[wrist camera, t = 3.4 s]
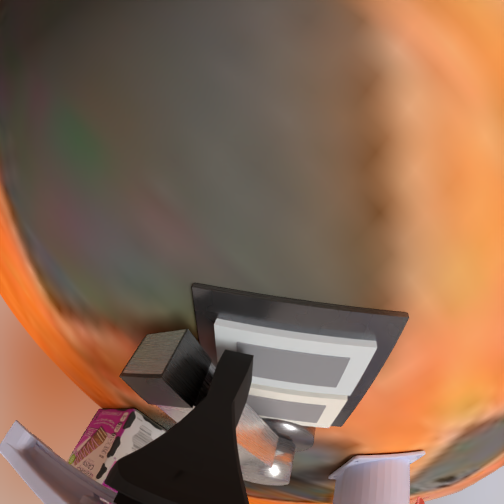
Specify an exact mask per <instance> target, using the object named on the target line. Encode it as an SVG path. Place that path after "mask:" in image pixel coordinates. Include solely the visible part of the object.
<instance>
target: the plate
mask: <svg viewBox="0 0 504 504" xmlns="http://www.w3.org/2000/svg"><path fill="white" fill-rule="evenodd" d="M192 291H193V299H194V306H195V314H196V321H197V328H198V335H199V341H200V345H201V347H202V348H203V349H204V350H205V352H206V353H207V354H208V356H209V357H210V358H211V359H212V363H213V364H214V365H215V367H216V366H217V364H218V362H217V352H216V342H215V331H214V323H215V321H216V319H217V318H218V319H223V320H228V321H233V322H239V323H244V324H250V325H255V326H261V327H267V328H274V329H280V330H286V331H293V332H300V333H308V334H315V335H323V336H331V337H340V338H350V339H360V340H371V341H376V343H377V349H376V351H375V353H374V355H373V357H372V359H371V361H370V362H369V364H368V366H367V368H366V370H365V372H364V373H363V375H362V377H361V379H360V380H359V382H358V384H357V385H356V387H355V389H354V390H353V392H352V394H351V395H350V396H348V397H347V402H346V403H345V405H344V406H343V408H342V409H341V411H340V412H339V414H338V415H337V417H336V418H335V420H334V421H333V423H332V424H331V426H340V427H341V426H342V425H343V424H344V423H345V421H346V420H347V419H348V417H349V416H350V415H351V413H352V412H353V410H354V409H355V408H356V406H357V405H358V403H359V402H360V401H361V399H362V398H363V396H364V395H365V393H366V392H367V390H368V389H369V387H370V386H371V384H372V383H373V381H374V380H375V378H376V376H377V375H378V373H379V372H380V370H381V368H382V367H383V365H384V363H385V362H386V360H387V358H388V356H389V355H390V353H391V351H392V349H393V348H394V346H395V344H396V342H397V340H398V338H399V336H400V335H401V333H402V331H403V329H404V327H405V325H406V323H407V321H408V319H409V315H408V313H406V312H396V311H386V310H376V309H367V308H358V307H350V306H341V305H333V304H326V303H318V302H311V301H304V300H296V299H289V298H283V297H276V296H269V295H263V294H257V293H250V292H244V291H238V290H232V289H227V288H221V287H215V286H209V285H204V284H198V283H194V285H193V286H192Z"/></svg>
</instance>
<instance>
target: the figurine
mask: <svg viewBox="0 0 504 504" xmlns="http://www.w3.org/2000/svg"><path fill="white" fill-rule="evenodd" d="M419 498H420V497H418V499H417V500H416V501H417V502H416V503H415V504H424V501H423V499H424V498H423V499H422V498H420V499H419ZM426 498H428V497H426ZM412 502H414V501H412ZM409 503H410V502H409Z"/></svg>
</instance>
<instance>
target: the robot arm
mask: <svg viewBox="0 0 504 504" xmlns="http://www.w3.org/2000/svg"><path fill="white" fill-rule="evenodd" d="M253 357H254V355H250V354H245V353H240V352H235V351H230V350H226V349H225V350H224V352H223V354H222V356H221V358H220V360H219V362H218V364H217V366H216V369H215V372H214V375H213V378H212V381H211V384H210V387H209V390H208V393H207V395H206V396H205V397H204V398H203V399H202V400H201V401H200V403H199V404H198V405H197V406H196V407H195V408H194V409H193V410H192V411H191V412H189V413H188V414H187V415H186V416H185V417H184V418H183V419H182V420H180V421H179V422H178V423H177V424H176V425H174V426H173V427H172V428H170V429H169V430H168V431H166V432H165V433H164V434H162V435H161V436H159V437H158V438H156V439H155V440H153V441H152V442H150V443H148V444H147V445H145V446H144V447H142V448H140V449H138V450H136V451H134V452H132V453H130V454H128V455H126V456H124V457H122V458H120V459H119V460H117V462H116V463H115V464H114V465H113V467H112V468H111V469H110V471H109V473H108V475H107V477H106V479H105V481H104V482H105V484H106V485H108V486H109V487H111V488H113V489H115V490H116V491H118V493H116V492H114V491H112V490H110V489H109V488H107V487H105V486H103V485H102V484H100V483H98V482H97V481H95V480H93V479H92V478H90V477H89V476H87V475H85V474H84V473H82V472H81V471H79V470H78V469H76V468H75V467H74V466H72V465H71V464H69V463H68V462H66V461H65V460H64V459H62V458H61V457H60V456H58V455H57V454H56V453H54V452H53V450H52V449H51V448H50V447H48V446H47V445H46V444H44V443H43V442H42V441H41V440H40V439H39V438H37V437H36V436H35V435H33V434H32V433H31V432H29V431H28V430H27V429H26V428H25V427H24V426H23V425H22V424H20V423H19V422H18V421H17V420H16V421H15V422H14V424H13V425H12V427H11V428H10V430H9V431H8V433H7V434H6V436H5V438H4V439H3V441H2V442H1V444H0V453H1V454H2V455H3V456H4V457H5V459H6V460H7V461H8V462H9V463H10V464H11V466H12V467H13V468H14V469H15V470H16V471H17V473H18V474H19V475H20V476H21V478H22V479H23V480H24V481H25V482H26V484H27V485H28V486H29V487H30V488H31V489H32V490H33V492H35V494H36V495H37V496H38V497H39V498H40V499H41V500H42V502H43V503H44V504H109V503H106V502H104V501H102V500H100V497H101V498H103V499H105V500H106V501H108V502H110V503H112V504H249V501H248V497H247V493H246V489H245V485H244V481H243V476H242V471H241V465H240V459H239V453H238V446H237V437H236V427H237V425H238V422H239V420H240V417H241V415H242V412H243V410H244V407H245V404H246V402H247V398H248V394H249V390H250V386H251V382H252V371H253ZM424 455H425V451H417V452H409V453H399V454H385V455H358V456H354V457H353V458H351V459H350V460H349V461H348V462H346V463H345V464H344V465H343V466H341V467H340V468H339V469H337V470H336V471H335V472H333V473H332V474H331V475H329V477H328V478H329V479H336V484H335V492H334V499H333V504H409V499H410V464H411V463H413V462H414V461H416V460H417V459H419V458H421V457H422V456H424Z"/></svg>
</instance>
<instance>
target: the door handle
mask: <svg viewBox="0 0 504 504" xmlns="http://www.w3.org/2000/svg"><path fill="white" fill-rule="evenodd" d="M215 369H216V367H215V365H214V364H213V363H212V359H211V358H210V357H209V356H208V354H207V353H206V352H205V350H204V349H203V348H202V347H201V345H200V344H199V343H198V341H197V340H196V339H195V337H194V336H193V335H192V333H191V332H190V331H189V329H184V330H177V331H170V332H163V333H156V334H148V335H146V336H145V337H144V339H143V340H142V342H141V343H140V345H139V346H138V348H137V350H136V351H135V353H134V354H133V356H132V357H131V359H130V360H129V362H128V363H127V365H126V366H125V368H124V369H123V371H122V373H121V374H120V377H121V378H122V379H123V380H124V381H125V382H126V383H127V384H128V385H129V386H130V387H131V388H132V389H133V390H134V391H135V392H136V393H137V394H138V395H139V396H140V397H141V398H143V399H144V400H145V401H146V402H147V403H148V404H154V405H157V406H158V407H159V408H161V409H162V410H163V411H164V412H165V413H166V414H168V415H169V416H170V417H171V418H172V419H174V420H175V421H176V422H177V423H178V422H179V421H180V420H182V419H183V418H184V417H185V416H186V415H187V414H188V413H189V412H191V411H192V410H193V409H194V408H195V407H196V406H197V405H198V404H199V403H200V401H201V400H202V399H203V398H204V397H205V396H206V395H207V393H208V390H209V387H210V384H211V381H212V378H213V375H214V372H215ZM236 437H237V446H238V453H239V459H240V465H241V471H242V476H243V480H246V481H249V482H253V483H258V484H265V485H287V484H289V481H290V476H291V471H292V465H293V460H294V454H295V449H296V445H295V444H294V443H293V442H292V441H290V440H287V439H284V438H281V437H279V436H278V435H277V434H276V433H275V432H274V431H273V430H272V429H271V428H270V427H269V426H268V425H267V424H266V423H265V422H264V421H263V420H262V419H261V418H260V417H259V416H258V415H257V413H256V412H255V411H254V410H253V409H252V408H251V407H250V406H249V405H248V404H247V403H246V404H245V407H244V410H243V412H242V415H241V417H240V420H239V422H238V425H237V427H236Z"/></svg>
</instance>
